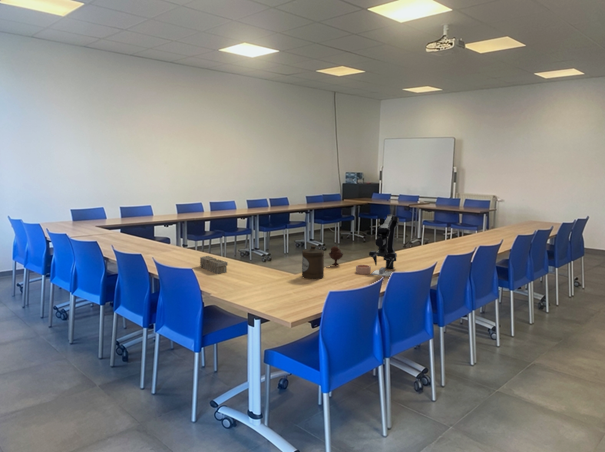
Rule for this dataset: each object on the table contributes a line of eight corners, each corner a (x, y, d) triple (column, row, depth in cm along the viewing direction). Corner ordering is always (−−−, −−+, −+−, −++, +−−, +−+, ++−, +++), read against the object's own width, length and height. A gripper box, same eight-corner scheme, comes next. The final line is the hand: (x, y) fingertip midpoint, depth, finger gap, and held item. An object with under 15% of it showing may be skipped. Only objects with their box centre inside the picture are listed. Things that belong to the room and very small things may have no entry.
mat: (374, 270, 315) (374, 270, 315) (393, 273, 309) (393, 272, 309) (369, 275, 302) (369, 274, 302) (389, 277, 297) (389, 276, 296)
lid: (375, 270, 313) (376, 265, 313) (392, 272, 309) (392, 267, 308) (371, 274, 303) (371, 269, 302) (388, 276, 298) (388, 271, 297)
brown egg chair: (342, 267, 326) (342, 247, 324) (327, 266, 328) (327, 246, 326) (343, 264, 336) (344, 245, 334) (329, 263, 338) (329, 244, 336)
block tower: (199, 268, 320) (217, 274, 297) (199, 256, 319) (217, 262, 296) (209, 266, 325) (227, 272, 302) (208, 255, 324) (227, 261, 301)
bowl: (358, 270, 315) (358, 264, 314) (371, 272, 311) (372, 265, 310) (354, 273, 306) (354, 266, 305) (368, 275, 302) (368, 268, 301)
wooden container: (301, 274, 301) (301, 243, 298) (322, 274, 303) (322, 243, 300) (302, 279, 287) (303, 247, 284) (325, 279, 288) (325, 247, 285)
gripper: (367, 245, 299) (366, 267, 301) (394, 247, 292) (393, 270, 294) (371, 242, 310) (370, 264, 312) (397, 245, 302) (396, 266, 304)
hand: (382, 266), depth 305 cm, fingers open, 9 cm apart
